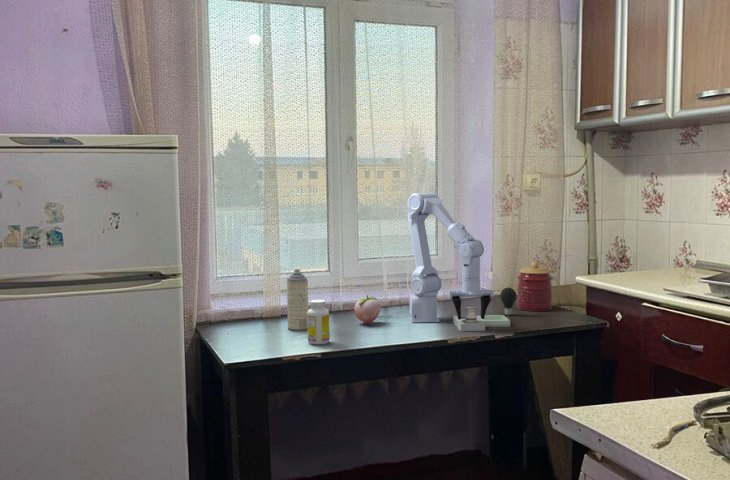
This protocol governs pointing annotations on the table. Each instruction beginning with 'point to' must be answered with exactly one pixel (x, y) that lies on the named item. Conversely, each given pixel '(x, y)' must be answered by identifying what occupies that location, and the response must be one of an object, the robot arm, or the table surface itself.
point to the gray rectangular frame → (468, 324)
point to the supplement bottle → (318, 323)
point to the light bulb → (508, 299)
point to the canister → (534, 288)
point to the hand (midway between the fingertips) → (470, 318)
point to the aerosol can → (297, 301)
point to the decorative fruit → (367, 309)
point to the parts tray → (495, 321)
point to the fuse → (470, 314)
